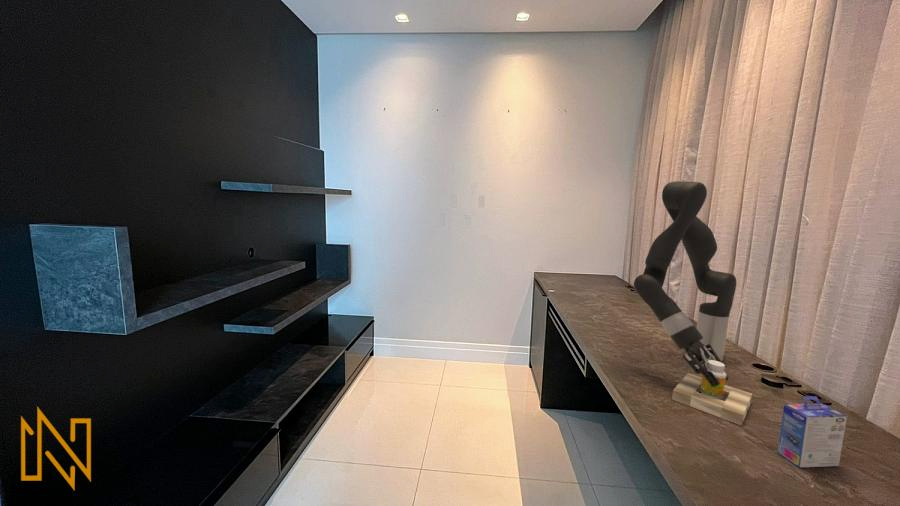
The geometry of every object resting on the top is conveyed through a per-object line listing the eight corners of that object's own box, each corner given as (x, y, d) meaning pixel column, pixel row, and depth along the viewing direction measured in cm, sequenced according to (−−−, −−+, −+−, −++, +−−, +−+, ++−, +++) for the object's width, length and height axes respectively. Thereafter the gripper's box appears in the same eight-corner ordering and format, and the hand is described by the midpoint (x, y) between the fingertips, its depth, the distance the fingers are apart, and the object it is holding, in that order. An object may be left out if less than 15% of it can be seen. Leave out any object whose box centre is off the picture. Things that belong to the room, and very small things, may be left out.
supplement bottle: (703, 396, 100) (707, 365, 98) (697, 387, 105) (702, 357, 103) (725, 401, 98) (731, 369, 96) (719, 391, 103) (724, 361, 101)
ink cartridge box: (812, 449, 82) (823, 393, 80) (840, 467, 76) (852, 406, 74) (774, 450, 81) (784, 393, 79) (799, 468, 76) (811, 407, 74)
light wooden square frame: (686, 381, 113) (687, 373, 112) (750, 403, 101) (752, 393, 101) (671, 399, 102) (673, 389, 101) (741, 425, 90) (743, 415, 90)
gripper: (680, 328, 101) (723, 385, 93) (702, 320, 108) (743, 372, 100) (659, 339, 106) (698, 393, 98) (681, 331, 114) (719, 381, 105)
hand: (720, 382), depth 99 cm, fingers closed on supplement bottle, 5 cm apart
